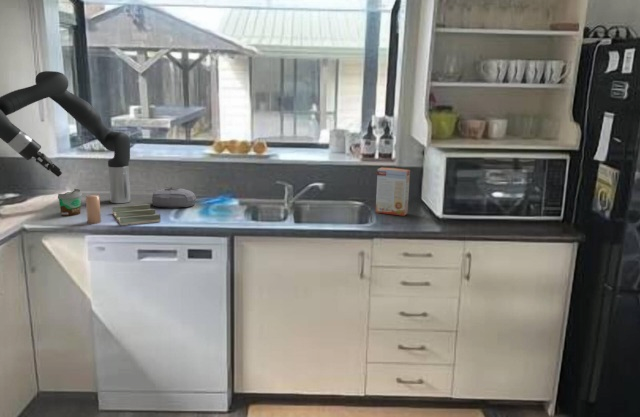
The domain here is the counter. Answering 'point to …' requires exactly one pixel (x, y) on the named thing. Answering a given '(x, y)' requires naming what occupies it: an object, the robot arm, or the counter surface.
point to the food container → (70, 203)
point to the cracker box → (392, 191)
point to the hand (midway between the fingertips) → (59, 173)
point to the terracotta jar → (93, 209)
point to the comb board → (135, 214)
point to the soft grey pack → (173, 198)
